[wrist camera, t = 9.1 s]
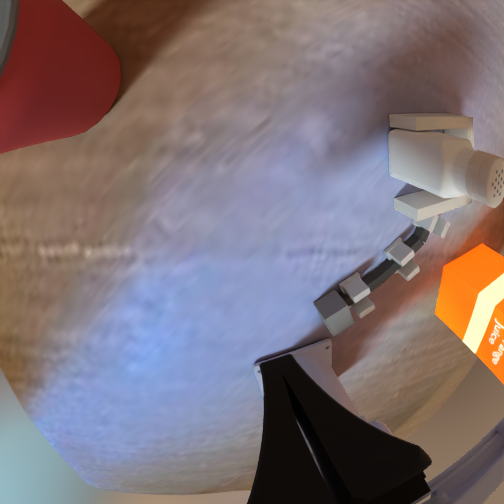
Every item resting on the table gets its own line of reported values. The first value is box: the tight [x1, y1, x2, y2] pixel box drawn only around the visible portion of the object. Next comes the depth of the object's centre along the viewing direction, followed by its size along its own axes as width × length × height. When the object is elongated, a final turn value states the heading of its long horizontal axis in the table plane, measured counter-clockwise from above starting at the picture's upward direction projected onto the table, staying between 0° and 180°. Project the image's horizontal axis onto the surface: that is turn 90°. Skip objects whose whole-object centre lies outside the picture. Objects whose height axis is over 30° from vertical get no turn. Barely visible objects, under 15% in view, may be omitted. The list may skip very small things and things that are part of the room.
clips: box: [339, 214, 450, 319], centre depth 23 cm, size 4×13×2 cm, turn 132°
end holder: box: [389, 113, 474, 221], centre depth 19 cm, size 8×8×3 cm
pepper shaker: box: [388, 129, 504, 208], centre depth 15 cm, size 4×4×10 cm
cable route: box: [314, 226, 430, 337], centre depth 23 cm, size 3×16×2 cm, turn 129°
